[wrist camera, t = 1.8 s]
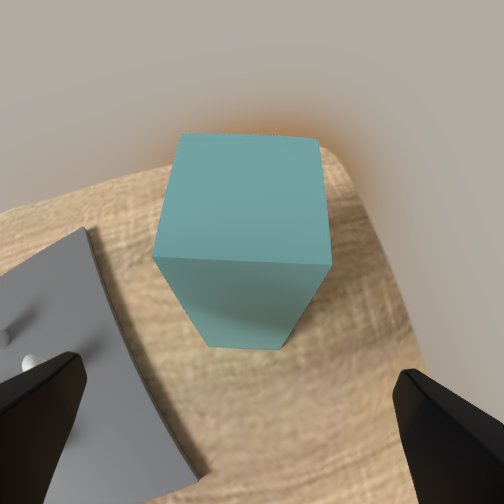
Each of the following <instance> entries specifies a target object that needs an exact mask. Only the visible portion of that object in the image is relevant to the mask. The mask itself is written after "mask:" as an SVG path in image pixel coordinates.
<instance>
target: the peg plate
mask: <svg viewBox="0 0 504 504" xmlns="http://www.w3.org/2000/svg"><path fill="white" fill-rule="evenodd" d="M66 351H71V352H76V353H79V354H80V355H81V357H82V360H83V363H84V367H85V370H86V373H87V384H86V387H85V390H84V393H83V396H82V399H81V403H80V406H79V409H78V412H77V416H76V419H75V422H74V425H73V427H72V430H71V432H70V434H69V437H68V439H67V442H66V444H65V447H64V449H63V452H62V454H61V457H60V459H59V462H58V464H57V467H56V470H55V472H54V475H53V478H52V480H51V483H50V486H49V489H48V492H47V494H46V497H45V500H44V503H43V504H139V503H142V502H146V501H149V500H152V499H155V498H158V497H160V496H163V495H166V494H169V493H171V492H174V491H177V490H179V489H182V488H185V487H187V486H190V485H192V484H194V483H197V482H199V480H200V477H199V476H198V474H197V473H196V471H195V470H194V468H193V467H192V465H191V463H190V462H189V460H188V459H187V457H186V455H185V454H184V452H183V451H182V449H181V447H180V446H179V444H178V442H177V440H176V439H175V437H174V435H173V434H172V432H171V430H170V428H169V426H168V425H167V423H166V421H165V419H164V417H163V416H162V414H161V412H160V410H159V408H158V406H157V404H156V402H155V401H154V399H153V397H152V395H151V393H150V391H149V389H148V387H147V385H146V383H145V381H144V378H143V376H142V374H141V372H140V370H139V368H138V366H137V364H136V361H135V359H134V357H133V355H132V353H131V350H130V348H129V346H128V343H127V341H126V339H125V336H124V334H123V332H122V329H121V327H120V324H119V322H118V319H117V317H116V314H115V312H114V309H113V307H112V304H111V301H110V299H109V296H108V293H107V290H106V288H105V285H104V282H103V279H102V276H101V273H100V270H99V267H98V264H97V261H96V258H95V255H94V252H93V248H92V245H91V242H90V238H89V235H88V232H87V230H86V229H85V228H84V227H82V228H80V229H78V230H76V231H75V232H73V233H71V234H69V235H68V236H66V237H64V238H62V239H61V240H59V241H57V242H55V243H54V244H52V245H50V246H49V247H47V248H45V249H44V250H42V251H40V252H39V253H37V254H35V255H34V256H32V257H30V258H29V259H27V260H26V261H24V262H22V263H21V264H19V265H18V266H16V267H15V268H13V269H11V270H10V271H8V272H7V273H5V274H4V275H2V276H1V277H0V383H2V382H4V381H6V380H8V379H10V378H12V377H14V376H16V375H18V374H20V373H23V372H25V371H27V370H29V369H31V368H33V367H35V366H37V365H39V364H41V363H43V362H45V361H47V360H49V359H51V358H54V357H56V356H58V355H60V354H62V353H64V352H66Z"/></svg>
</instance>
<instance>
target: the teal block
mask: <svg viewBox="0 0 504 504" xmlns="http://www.w3.org/2000/svg"><path fill="white" fill-rule="evenodd" d="M152 257H153V259H154V261H155V262H156V264H157V266H158V267H159V269H160V271H161V273H162V274H163V276H164V278H165V279H166V281H167V283H168V284H169V286H170V288H171V289H172V291H173V292H174V294H175V296H176V297H177V299H178V301H179V302H180V304H181V305H182V307H183V309H184V310H185V312H186V313H187V315H188V316H189V318H190V320H191V321H192V323H193V324H194V326H195V327H196V329H197V330H198V332H199V333H200V335H201V336H202V338H203V339H204V341H205V342H206V344H207V345H208V347H221V348H239V349H262V350H280V348H281V347H282V345H283V344H284V342H285V341H286V339H287V338H288V336H289V334H290V333H291V331H292V330H293V328H294V327H295V325H296V324H297V322H298V320H299V319H300V317H301V316H302V314H303V312H304V311H305V309H306V308H307V306H308V304H309V303H310V301H311V300H312V298H313V296H314V295H315V293H316V291H317V290H318V288H319V286H320V285H321V283H322V281H323V280H324V278H325V276H326V275H327V273H328V271H329V270H330V268H331V266H332V254H331V242H330V231H329V221H328V211H327V202H326V193H325V185H324V177H323V169H322V161H321V154H320V147H319V141H318V139H312V138H300V137H287V136H272V135H251V134H181V137H180V141H179V145H178V148H177V152H176V155H175V159H174V163H173V166H172V170H171V174H170V178H169V182H168V186H167V190H166V195H165V199H164V203H163V207H162V212H161V216H160V221H159V225H158V230H157V235H156V240H155V245H154V250H153V255H152Z"/></svg>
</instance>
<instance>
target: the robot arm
mask: <svg viewBox="0 0 504 504" xmlns="http://www.w3.org/2000/svg"><path fill="white" fill-rule="evenodd" d="M86 384H87V373H86V370H85V367H84V363H83V360H82V357H81V355H80V354H79V353H76V352H71V351H66V352H64V353H62V354H60V355H58V356H56V357H54V358H51V359H49V360H47V361H45V362H43V363H41V364H39V365H37V366H35V367H33V368H31V369H29V370H27V371H25V372H23V373H20V374H18V375H16V376H14V377H12V378H10V379H8V380H6V381H4V382H2V383H0V504H43V503H44V500H45V497H46V494H47V492H48V489H49V486H50V483H51V480H52V478H53V475H54V472H55V470H56V467H57V464H58V462H59V459H60V457H61V454H62V452H63V449H64V447H65V444H66V442H67V439H68V437H69V434H70V432H71V430H72V427H73V425H74V422H75V419H76V416H77V412H78V409H79V406H80V403H81V399H82V396H83V393H84V390H85V387H86ZM392 397H393V403H394V408H395V412H396V417H397V422H398V428H399V433H400V438H401V442H402V446H403V449H404V452H405V456H406V459H407V462H408V466H409V469H410V473H411V476H412V480H413V484H414V487H415V491H416V495H417V499H418V502H419V504H504V425H503V423H502V422H500V421H498V420H497V419H495V418H493V417H492V416H490V415H489V414H487V413H485V412H484V411H482V410H481V409H479V408H477V407H476V406H474V405H473V404H471V403H469V402H468V401H466V400H464V399H463V398H461V397H460V396H458V395H457V394H455V393H453V392H452V391H450V390H449V389H447V388H445V387H444V386H442V385H441V384H439V383H437V382H436V381H434V380H433V379H431V378H429V377H428V376H426V375H425V374H423V373H422V372H420V371H418V370H417V369H404V370H402V371H401V372H400V374H399V377H398V380H397V382H396V385H395V387H394V390H393V395H392Z"/></svg>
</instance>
